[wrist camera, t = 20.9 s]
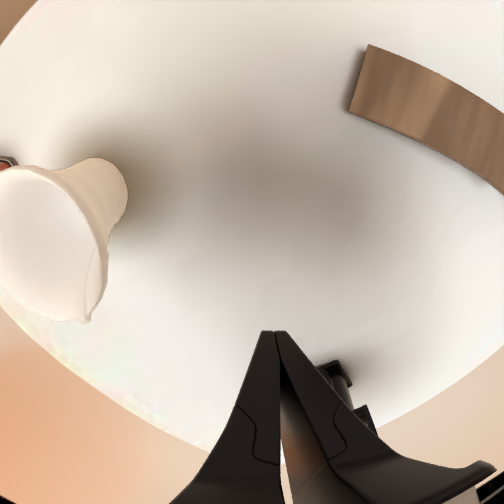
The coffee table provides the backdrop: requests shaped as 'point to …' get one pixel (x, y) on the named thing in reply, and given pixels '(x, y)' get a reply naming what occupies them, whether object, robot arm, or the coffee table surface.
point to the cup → (59, 235)
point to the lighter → (7, 162)
